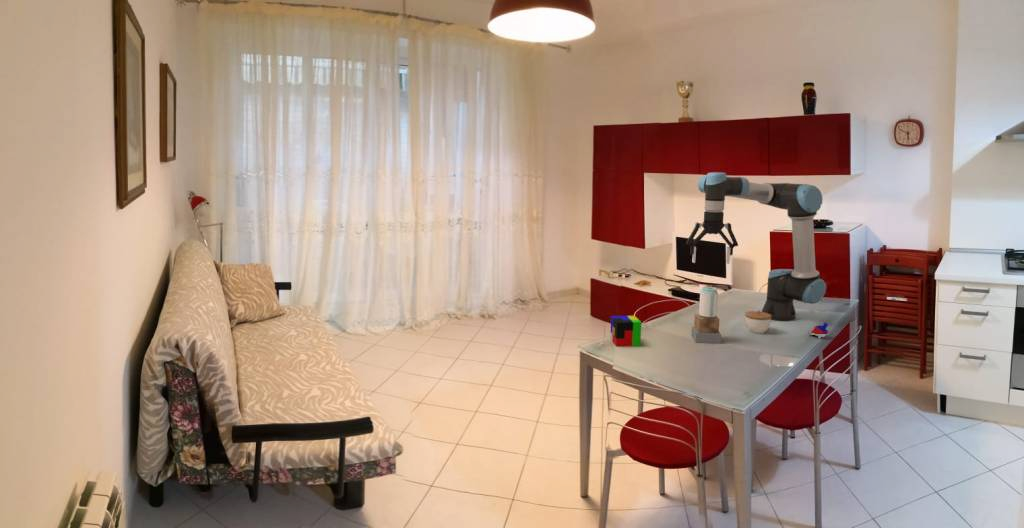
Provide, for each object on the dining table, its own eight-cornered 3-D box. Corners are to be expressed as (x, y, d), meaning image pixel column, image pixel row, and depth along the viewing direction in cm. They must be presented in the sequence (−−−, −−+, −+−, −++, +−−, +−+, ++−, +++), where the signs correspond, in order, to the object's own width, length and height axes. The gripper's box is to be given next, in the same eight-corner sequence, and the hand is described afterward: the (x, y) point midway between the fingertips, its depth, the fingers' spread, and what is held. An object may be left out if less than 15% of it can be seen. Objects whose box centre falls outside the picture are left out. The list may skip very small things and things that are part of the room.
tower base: (715, 336, 266) (715, 327, 266) (720, 343, 257) (721, 334, 256) (691, 335, 267) (691, 326, 267) (695, 342, 258) (696, 333, 257)
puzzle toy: (610, 339, 262) (611, 316, 260) (633, 338, 263) (634, 315, 261) (616, 346, 252) (617, 322, 250) (640, 346, 253) (641, 322, 251)
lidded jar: (769, 329, 277) (771, 308, 276) (770, 336, 268) (772, 314, 266) (743, 327, 281) (745, 306, 279) (744, 333, 271) (745, 312, 269)
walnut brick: (713, 327, 265) (714, 314, 264) (718, 333, 257) (719, 319, 256) (694, 327, 265) (694, 313, 264) (698, 332, 257) (699, 318, 256)
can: (696, 314, 263) (697, 286, 261) (712, 314, 264) (714, 286, 262) (702, 318, 256) (704, 290, 254) (719, 318, 257) (721, 290, 255)
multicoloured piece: (817, 341, 265) (826, 327, 261) (809, 335, 268) (818, 321, 264) (822, 340, 267) (831, 326, 263) (814, 333, 270) (824, 320, 265)
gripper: (743, 210, 255) (739, 261, 259) (680, 209, 257) (678, 260, 261) (748, 212, 247) (744, 265, 251) (684, 211, 250) (681, 263, 254)
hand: (710, 262), depth 256 cm, fingers open, 13 cm apart
